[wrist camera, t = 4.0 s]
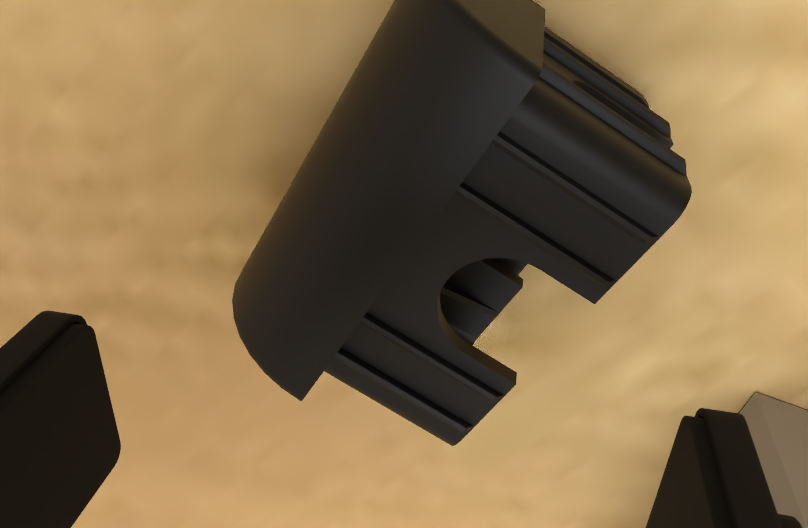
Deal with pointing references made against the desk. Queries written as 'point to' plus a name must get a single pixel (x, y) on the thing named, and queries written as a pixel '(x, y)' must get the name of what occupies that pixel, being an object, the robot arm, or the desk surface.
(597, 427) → the desk surface
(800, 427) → the icon cube
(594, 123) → the end cap
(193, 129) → the desk surface
